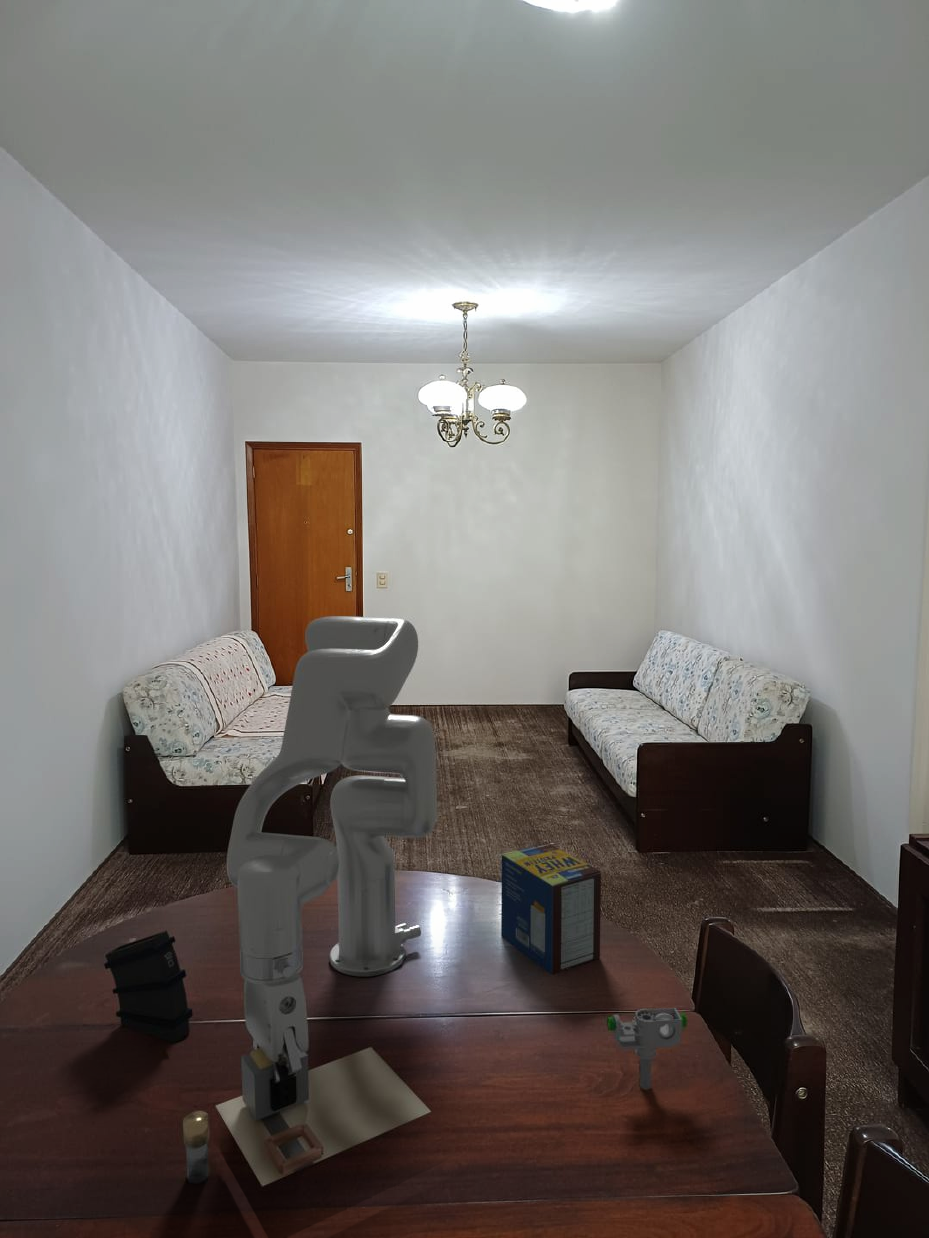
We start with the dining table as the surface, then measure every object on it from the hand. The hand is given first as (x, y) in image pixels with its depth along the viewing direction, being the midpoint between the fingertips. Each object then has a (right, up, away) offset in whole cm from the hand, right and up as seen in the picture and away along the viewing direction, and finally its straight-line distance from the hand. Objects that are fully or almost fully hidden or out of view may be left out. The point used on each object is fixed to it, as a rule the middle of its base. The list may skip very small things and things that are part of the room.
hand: (275, 1092), depth 112 cm
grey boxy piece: (0, -1, 0) cm, 1 cm away
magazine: (-23, -1, +19) cm, 29 cm away
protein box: (+38, +2, +43) cm, 57 cm away
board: (+6, -3, 0) cm, 7 cm away
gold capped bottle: (-7, -4, -10) cm, 13 cm away
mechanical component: (+48, -2, +6) cm, 48 cm away
